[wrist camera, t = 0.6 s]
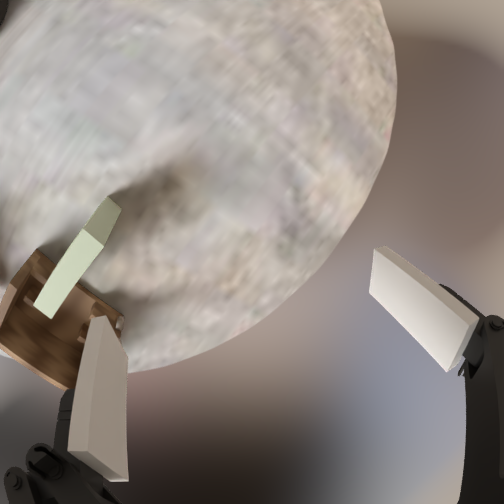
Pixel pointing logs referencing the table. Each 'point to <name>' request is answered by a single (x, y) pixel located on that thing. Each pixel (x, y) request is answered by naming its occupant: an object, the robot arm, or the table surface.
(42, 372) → the cabinet
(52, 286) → the door
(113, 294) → the table surface
